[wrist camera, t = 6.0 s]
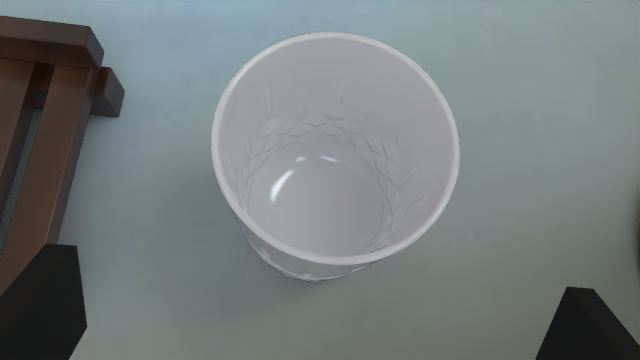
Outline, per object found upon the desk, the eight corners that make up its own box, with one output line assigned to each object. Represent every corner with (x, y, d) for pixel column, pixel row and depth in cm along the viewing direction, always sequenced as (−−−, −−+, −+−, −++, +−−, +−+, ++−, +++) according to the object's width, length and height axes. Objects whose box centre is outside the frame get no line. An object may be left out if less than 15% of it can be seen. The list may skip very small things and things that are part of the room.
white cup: (233, 144, 25) (211, 29, 16) (380, 142, 26) (442, 31, 17) (234, 298, 23) (208, 270, 13) (396, 290, 24) (479, 258, 14)
